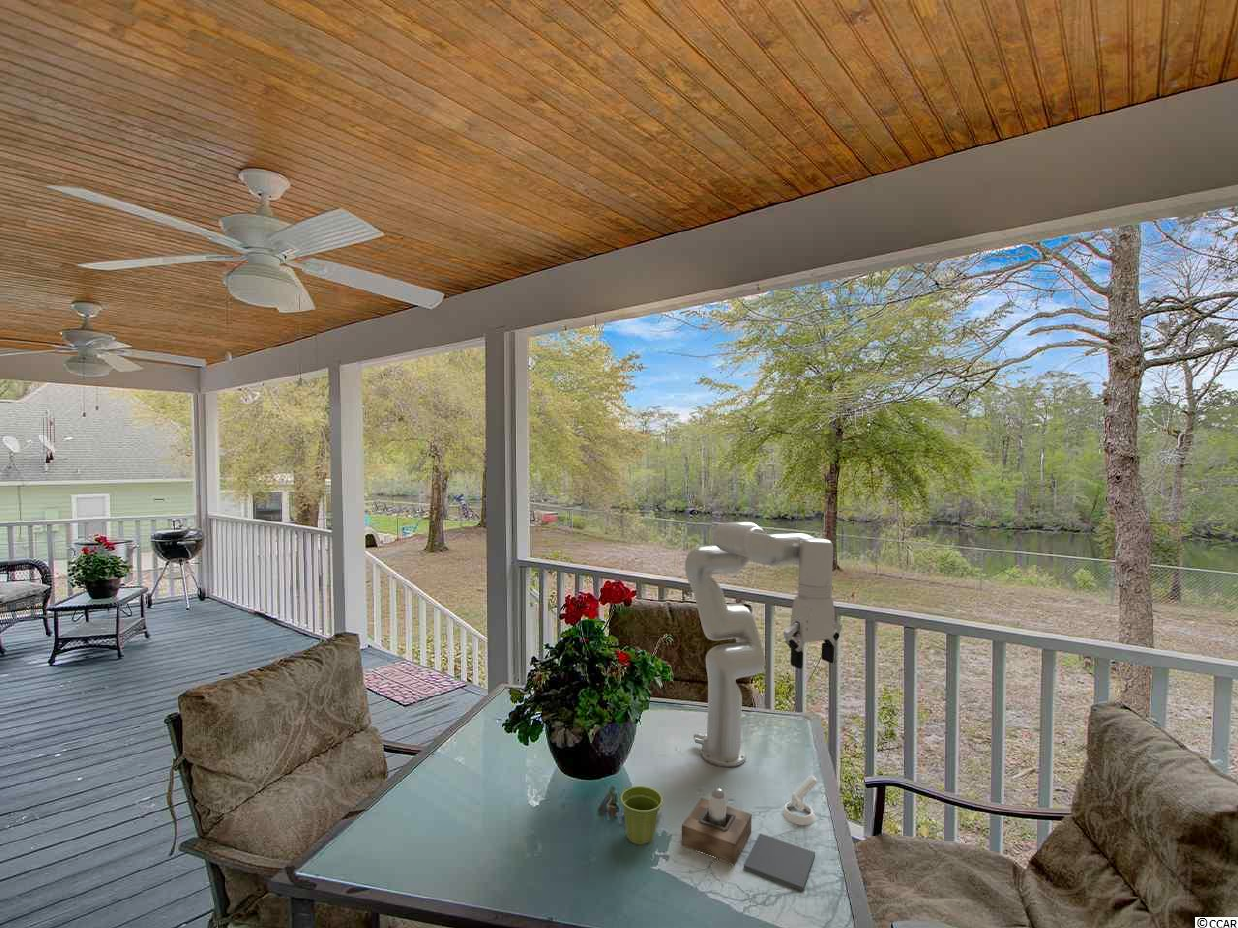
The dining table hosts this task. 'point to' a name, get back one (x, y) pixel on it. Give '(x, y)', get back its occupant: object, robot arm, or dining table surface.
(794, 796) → the white ring with handle
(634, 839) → the plant pot
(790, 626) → the robot arm
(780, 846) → the mat
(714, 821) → the steel peg
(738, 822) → the block
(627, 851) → the dining table surface
